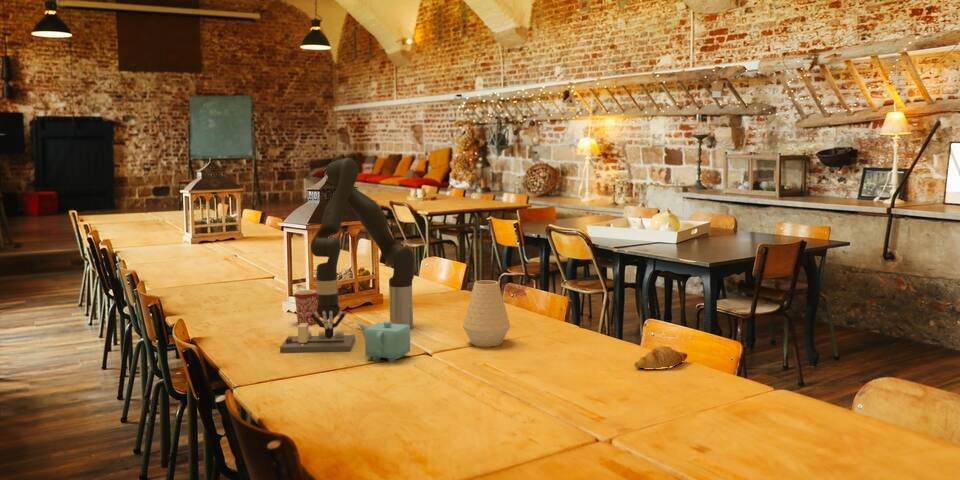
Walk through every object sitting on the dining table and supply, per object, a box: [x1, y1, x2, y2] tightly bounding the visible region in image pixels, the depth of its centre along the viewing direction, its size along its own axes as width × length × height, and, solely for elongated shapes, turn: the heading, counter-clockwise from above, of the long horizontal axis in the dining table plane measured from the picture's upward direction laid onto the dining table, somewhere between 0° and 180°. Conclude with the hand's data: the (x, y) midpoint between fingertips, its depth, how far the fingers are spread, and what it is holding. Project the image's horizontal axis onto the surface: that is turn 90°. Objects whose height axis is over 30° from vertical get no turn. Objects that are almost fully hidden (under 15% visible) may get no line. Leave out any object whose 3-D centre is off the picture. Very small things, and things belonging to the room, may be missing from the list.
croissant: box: [634, 345, 688, 369], centre depth 266 cm, size 21×10×8 cm, turn 117°
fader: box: [297, 323, 310, 343], centre depth 293 cm, size 3×5×6 cm, turn 3°
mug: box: [293, 289, 320, 326], centre depth 331 cm, size 13×9×14 cm
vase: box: [462, 279, 511, 348], centre depth 296 cm, size 17×17×23 cm
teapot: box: [356, 320, 411, 363], centre depth 279 cm, size 18×16×13 cm
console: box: [279, 329, 356, 354], centre depth 295 cm, size 25×16×4 cm, turn 93°
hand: (329, 338), depth 294 cm, fingers closed
